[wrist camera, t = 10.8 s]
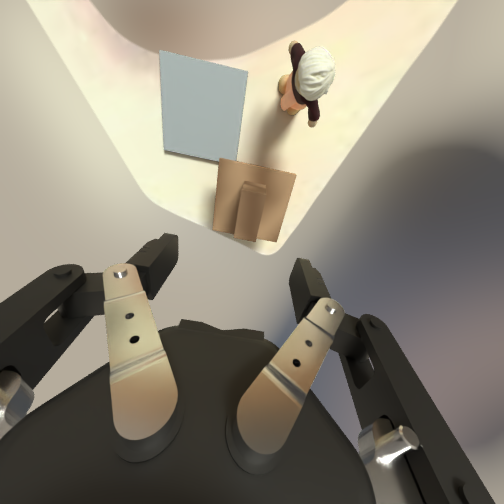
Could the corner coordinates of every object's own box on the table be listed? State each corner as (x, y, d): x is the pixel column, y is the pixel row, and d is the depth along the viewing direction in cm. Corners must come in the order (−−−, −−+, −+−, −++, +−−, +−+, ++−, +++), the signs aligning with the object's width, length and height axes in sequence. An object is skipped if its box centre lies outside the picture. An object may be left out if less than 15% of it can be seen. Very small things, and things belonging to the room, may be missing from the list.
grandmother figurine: (265, 80, 25) (269, 35, 14) (291, 55, 23) (317, -16, 13) (295, 135, 28) (317, 134, 17) (319, 116, 26) (360, 102, 16)
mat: (165, 149, 29) (163, 149, 29) (161, 51, 24) (159, 49, 23) (235, 164, 30) (235, 165, 30) (248, 72, 24) (247, 71, 24)
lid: (213, 227, 30) (204, 246, 25) (220, 157, 24) (210, 162, 19) (276, 239, 30) (279, 260, 25) (295, 173, 25) (304, 182, 20)
